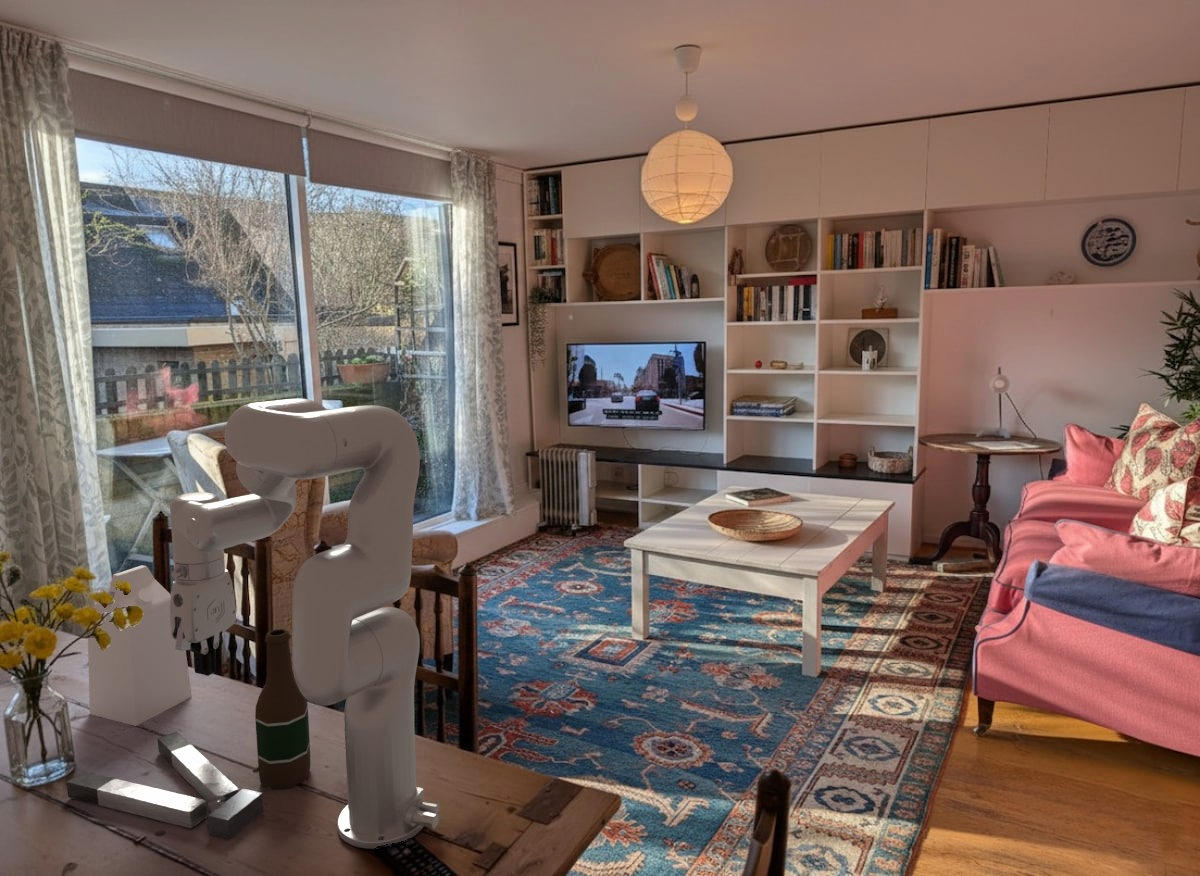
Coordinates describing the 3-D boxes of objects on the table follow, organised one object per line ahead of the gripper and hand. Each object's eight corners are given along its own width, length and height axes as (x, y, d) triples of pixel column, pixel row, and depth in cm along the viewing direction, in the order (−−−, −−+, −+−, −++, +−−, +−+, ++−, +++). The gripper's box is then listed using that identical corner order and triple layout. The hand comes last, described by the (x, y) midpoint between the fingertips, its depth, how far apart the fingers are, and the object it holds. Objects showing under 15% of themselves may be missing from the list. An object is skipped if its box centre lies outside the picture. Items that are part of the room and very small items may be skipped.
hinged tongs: (263, 811, 120) (262, 793, 120) (229, 839, 114) (227, 820, 113) (107, 774, 129) (106, 757, 129) (68, 799, 123) (66, 780, 123)
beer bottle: (294, 794, 125) (285, 644, 121) (248, 787, 126) (238, 639, 122) (321, 766, 132) (314, 624, 128) (277, 760, 134) (269, 620, 130)
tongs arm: (245, 809, 120) (244, 794, 120) (213, 824, 117) (212, 807, 116) (177, 745, 138) (176, 731, 137) (148, 755, 134) (147, 741, 134)
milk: (147, 686, 160) (136, 557, 156) (191, 696, 156) (181, 564, 152) (89, 714, 149) (76, 576, 145) (135, 726, 145) (123, 584, 140)
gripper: (181, 585, 127) (188, 696, 130) (250, 557, 141) (255, 658, 144) (144, 579, 129) (151, 688, 132) (215, 552, 143) (220, 651, 146)
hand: (205, 672), depth 138 cm, fingers closed
